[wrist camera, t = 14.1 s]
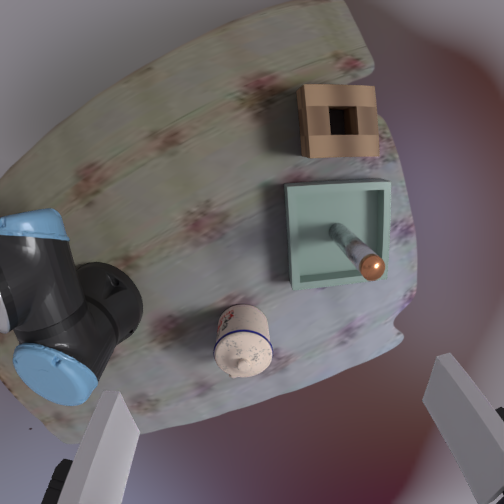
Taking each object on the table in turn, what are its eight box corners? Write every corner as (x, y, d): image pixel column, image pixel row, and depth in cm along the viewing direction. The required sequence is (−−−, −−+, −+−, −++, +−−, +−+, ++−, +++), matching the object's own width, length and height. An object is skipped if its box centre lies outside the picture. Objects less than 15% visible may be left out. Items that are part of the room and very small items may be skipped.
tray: (289, 281, 52) (292, 290, 49) (283, 183, 47) (287, 186, 43) (379, 270, 52) (386, 279, 49) (381, 178, 47) (391, 181, 43)
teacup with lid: (223, 296, 53) (220, 336, 42) (275, 309, 54) (283, 349, 43) (208, 351, 57) (202, 394, 46) (255, 361, 58) (258, 405, 47)
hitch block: (301, 156, 45) (310, 158, 40) (296, 91, 42) (304, 84, 36) (364, 154, 45) (379, 156, 40) (359, 91, 42) (374, 86, 36)
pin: (328, 241, 49) (361, 282, 35) (328, 223, 48) (362, 258, 34) (346, 240, 49) (384, 279, 35) (346, 222, 48) (386, 255, 34)
